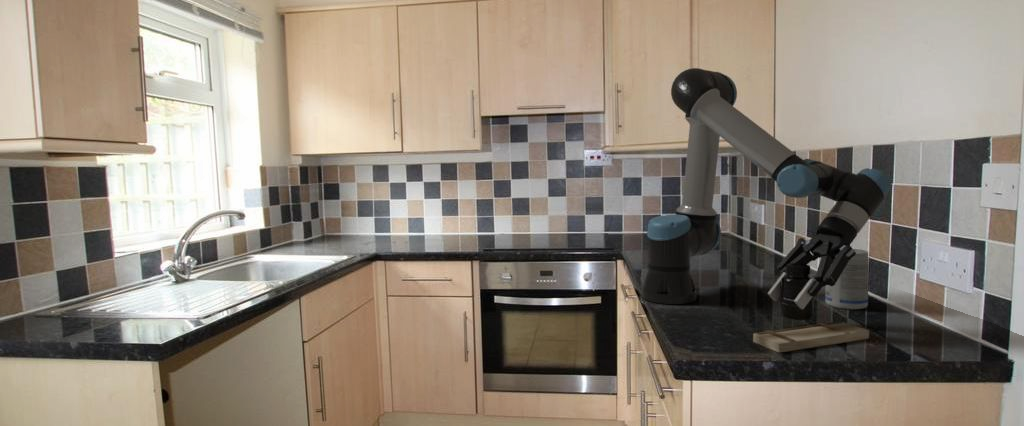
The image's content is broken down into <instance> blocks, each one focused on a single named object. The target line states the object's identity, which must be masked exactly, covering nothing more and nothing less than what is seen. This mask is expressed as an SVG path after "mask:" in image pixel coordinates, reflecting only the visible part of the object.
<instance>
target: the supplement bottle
mask: <svg viewBox="0 0 1024 426" xmlns="http://www.w3.org/2000/svg"><path fill="white" fill-rule="evenodd" d="M786 273H787V275H785V276H783V277H782V279H781V293H780V297H779V313H780V315H781V316H782V317H783V318H786V319H790V320H794V321H795V320H796V321H809V320H811V319H813V318H814V311H815V309H814V308H815V297H812V298H811V300H810V301H809V302H808V304H807V305H806V306H805V308H804V309H800V308H799V306H798V305H797V304H796V303H795V302H794V300H795V299H796V297H797V296H798V295H799V293H800V292H801V291H802V289H803V288H804V287H805V285H806V284H807V283H808V281H809V280H810V279H813V277H811V276H810V275H811V266H810V265H809V264H807V265H806V264H799V263H790V264H787V265H786Z"/></svg>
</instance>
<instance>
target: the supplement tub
mask: <svg viewBox="0 0 1024 426" xmlns="http://www.w3.org/2000/svg"><path fill="white" fill-rule="evenodd" d="M852 249H853V250H854V251H855V252H856V254H855V256H853V257H852V258H851V259H850V260H849V262H848V263H847V265H846V267H845V268H844V270H843V272H842V273H841V275H840V277H839V279H838V280H837V282H836V284H835V285H834V286H830V285H826V286H824V287H825V288H824V289H825V295H824V297H825V298H824V299H825V300H824V301H825V303H826V304H827V305H828V306H831V307H834V308H836V309H837V308H838V309H847V310H862V309H865V308H867V307H868V306H869V276H870V275H869V270H870V269H869V267H870V265H869V264H870V263H869V262H870V260H869V251H867V250H865V249H858V248H852ZM836 256H837V255H836ZM831 278H832V277H831Z"/></svg>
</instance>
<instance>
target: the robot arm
mask: <svg viewBox="0 0 1024 426" xmlns="http://www.w3.org/2000/svg"><path fill="white" fill-rule="evenodd" d="M671 84H672V85H671V89H670V95H671V100H672V101H673V104H674V105H675V106H676V107H678V109H679V110H680V111H682V112H683V113H684V114H685V117H684V119H685V120H686V122H687V123H688V124H689V129H688V140H687V141H688V142H687V151H686V158H685V159H686V161H685V171H684V172H685V173H684V181H683V191H682V198H681V199H682V200H681V205H680V206H678V207H677V208H676V211H675V214H666V215H659V216H655V217H652V218H651V219H649V221H648V224H647V231H646V237H647V272H646V273H645V277H644V281H643V284H642V286H641V295H640V296H641V298H642V299H643V300H646V301H647V302H652V303H656V304H666V305H683V304H690V303H694V302H696V301H697V290H696V286H695V283H694V280H693V276H692V275H691V258H692V257H698V256H704V255H706V254H708V253H710V252H712V251H713V250H715V249H716V248H717V247H718V246H719V244H720V242H721V239H722V229H721V225H720V224H719V223H718V221H717V218H718V217H717V216H718V213H717V211H716V210H715V209H714V207H713V201H714V195H715V194H714V193H715V185H716V175H717V165H718V157H719V156H718V155H719V147H720V146H719V145H720V137H721V139H723V141H725V142H726V143H728V145H730V146H732V147H733V148H734V149H735V150H736V151H737V152H739V153H740V154H741V155H743V157H745V158H746V159H748V160H749V161H750V162H751V163H753V165H755V166H756V167H757V168H759V170H761V171H762V172H764V173H765V174H766V175H767V176H769V177H770V178H771V179H772V180H773V181H774V182H775V183H776V186H777V188H778V190H779V191H780V193H782V194H783V195H785V196H786V197H789V198H794V199H801V198H806V197H812V196H821V197H823V198H825V199H829V200H831V201H834V202H835V204H834V205H833V206H832V208H831V209H830V211H828V213H827V214H826V217H824V218H823V219H822V221H821V222H820V224H819V225H818V226H817V228H816V233H815V235H814V236H813V237H811V238H810V239H804V238H803V237H799V239H798V240H797V242H796V244H795V246H794V247H793V248H792V249H791V250H790V251H789V252H788V253H787V254H786V256H784V258H783V259H782V260H781V261H780V263H778V265H776V268H777V270H778V271H779V273H780V274H779V275H778V277H777V278H776V279H775V281H774V284H773V285H772V286H771V288H770V290H769V291H768V292H767V295H768V296H769V297H770V298H771V299H772V300H773V301H775V302H777V301H778V300H780V293H781V279H782V277H783V276H785V275H787V273H786V265H787V264H790V263H799V264H806V265H809V263H811V262H815V261H816V260H818V259H820V260H819V263H818V264H819V265H818V267H817V269H816V270H817V271H816V274H815V275H814V276H812V279H810V280H809V281H808V283H807V284H806V285H805V287H804V288H803V289H802V291H801V292H800V293H799V295H798V296H797V297H796V299H795V300H794V302H795V303H796V304H797V305H798V306H799V308H800V309H804V308H805V306H806V305H807V304H808V302H809V301H810V300H811V298H812V297H814V298H815V297H816V296H817V295H818V293H819V292H820V291H821V290H822V289H823V287H825V286H826V285H830V286H834V285H835V284H836V282H837V280H838V279H839V277H840V275H841V273H842V272H843V270H844V268H845V267H846V265H847V263H848V262H849V260H850V259H851V258H852V257H853V256H855V254H856V252H855V251H854V250H853V249H854V248H853V247H852V245H851V244H852V243H853V242H854V240H855V239H856V237H857V236H858V234H859V233H860V232H861V230H862V229H863V228H864V227H865V225H866V223H867V222H868V221H869V219H870V218H871V217H872V215H874V213H875V211H876V210H877V209H878V208H879V207H880V205H881V204H882V203H883V202H884V201H885V199H886V197H887V195H888V194H889V191H890V190H891V189H892V187H893V185H892V180H891V178H890V177H889V176H888V175H887V174H886V173H885V172H883V171H881V170H879V169H876V168H863V169H861V170H860V171H859V172H857V173H853V172H849V171H846V170H843V169H840V168H837V167H834V166H832V165H829V164H826V163H823V162H822V161H819V160H814V159H811V158H804V159H803V158H801V157H800V156H798V155H797V154H796V153H795V152H794V151H792V150H791V149H790V148H788V147H787V146H786V145H784V144H783V143H782V142H781V141H780V140H778V139H776V138H775V137H774V136H773V135H771V134H770V133H768V131H766V130H765V129H764V128H762V127H761V126H760V125H758V124H757V123H756V122H754V121H753V120H752V119H751V118H749V117H748V116H746V115H745V114H744V113H743V112H742V111H740V110H738V109H737V108H736V107H735V103H736V101H737V97H738V90H737V86H736V84H735V82H734V80H732V78H731V77H730V76H728V75H726V74H724V73H722V72H719V71H712V70H707V69H702V68H698V67H692V68H688V69H685V70H683V71H682V72H680V73H679V74H677V76H676V77H675V78H674V80H673V82H672V83H671ZM836 255H837V256H836ZM831 277H832V278H831Z"/></svg>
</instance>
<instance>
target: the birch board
mask: <svg viewBox="0 0 1024 426" xmlns="http://www.w3.org/2000/svg"><path fill="white" fill-rule="evenodd" d="M752 335H753V337H752V342H753V343H755V344H757V345H760V346H763V347H765V348H767V349H770V350H771V351H774V352H776V353H785V352H791V351H797V350H799V351H800V350H803V349H804V350H805V349H811V348H817V347H822V346H829V345H837V344H843V343H849V342H850V343H851V342H856V341H861V340H869V339H870V330H869V329H867V328H862V327H859V326H856V325H853V324H850V323H846V322H843V321H839V320H838V321H831V322H826V323H825V322H824V323H822V322H819V323H816V324H809V325H802V326H796V327H789V328H782V329H774V330H769V329H768V330H764V331H759V332H755V333H753V334H752Z"/></svg>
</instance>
